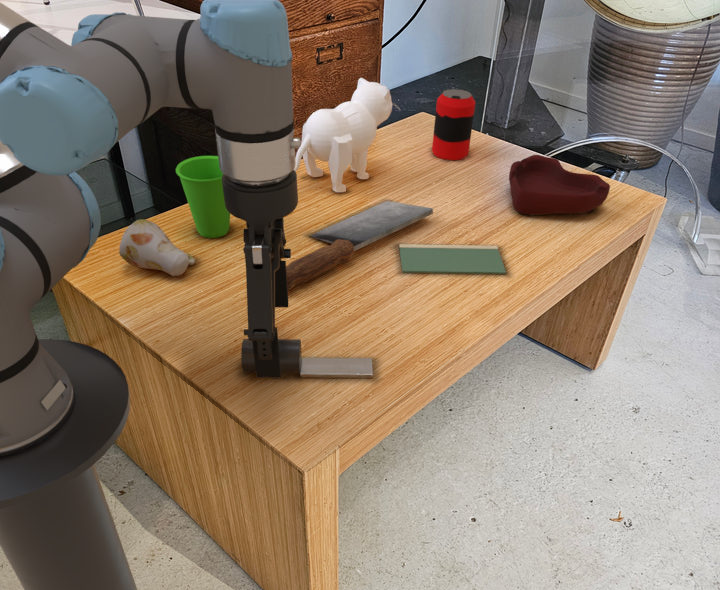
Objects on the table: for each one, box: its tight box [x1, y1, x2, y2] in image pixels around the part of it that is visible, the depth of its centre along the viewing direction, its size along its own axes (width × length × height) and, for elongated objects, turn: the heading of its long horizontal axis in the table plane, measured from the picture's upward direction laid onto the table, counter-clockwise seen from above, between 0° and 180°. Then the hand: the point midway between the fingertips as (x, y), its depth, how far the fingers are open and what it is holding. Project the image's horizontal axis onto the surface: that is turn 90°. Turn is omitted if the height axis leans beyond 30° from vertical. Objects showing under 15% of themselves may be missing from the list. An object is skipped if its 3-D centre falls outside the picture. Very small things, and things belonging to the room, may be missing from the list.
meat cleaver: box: [286, 200, 434, 292], centre depth 106 cm, size 34×11×4 cm, turn 136°
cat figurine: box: [293, 77, 400, 193], centre depth 120 cm, size 25×10×17 cm, turn 131°
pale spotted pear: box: [118, 218, 196, 277], centre depth 98 cm, size 8×10×10 cm
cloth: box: [398, 243, 507, 275], centre depth 104 cm, size 16×8×1 cm, turn 91°
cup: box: [175, 155, 231, 239], centre depth 105 cm, size 9×9×11 cm
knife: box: [240, 338, 374, 379], centre depth 82 cm, size 16×4×4 cm, turn 91°
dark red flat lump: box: [508, 154, 611, 217], centre depth 119 cm, size 18×16×5 cm
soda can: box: [431, 88, 476, 161], centre depth 133 cm, size 8×8×12 cm
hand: (273, 338), depth 79 cm, fingers open, 13 cm apart
